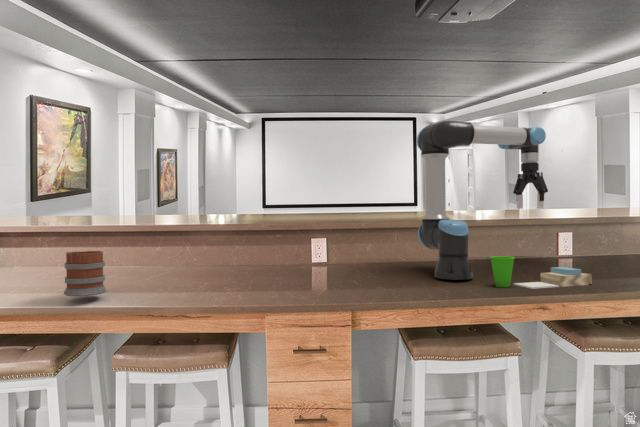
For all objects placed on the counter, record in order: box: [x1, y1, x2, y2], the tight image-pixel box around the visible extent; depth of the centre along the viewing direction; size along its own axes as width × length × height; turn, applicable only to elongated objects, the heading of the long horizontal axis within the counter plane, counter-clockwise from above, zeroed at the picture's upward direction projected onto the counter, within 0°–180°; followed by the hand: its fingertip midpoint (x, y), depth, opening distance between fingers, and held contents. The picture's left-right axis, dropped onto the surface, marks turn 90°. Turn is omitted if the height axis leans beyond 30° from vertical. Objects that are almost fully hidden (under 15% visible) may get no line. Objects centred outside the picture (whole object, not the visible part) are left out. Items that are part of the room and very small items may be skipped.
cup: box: [489, 255, 516, 288], centre depth 188 cm, size 9×9×11 cm
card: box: [550, 266, 582, 275], centre depth 192 cm, size 6×9×2 cm, turn 18°
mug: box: [63, 250, 107, 297], centre depth 182 cm, size 14×19×15 cm
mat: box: [513, 281, 560, 290], centre depth 188 cm, size 12×10×1 cm
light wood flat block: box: [540, 271, 593, 288], centre depth 192 cm, size 15×10×4 cm, turn 108°
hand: (529, 208), depth 230 cm, fingers open, 13 cm apart
